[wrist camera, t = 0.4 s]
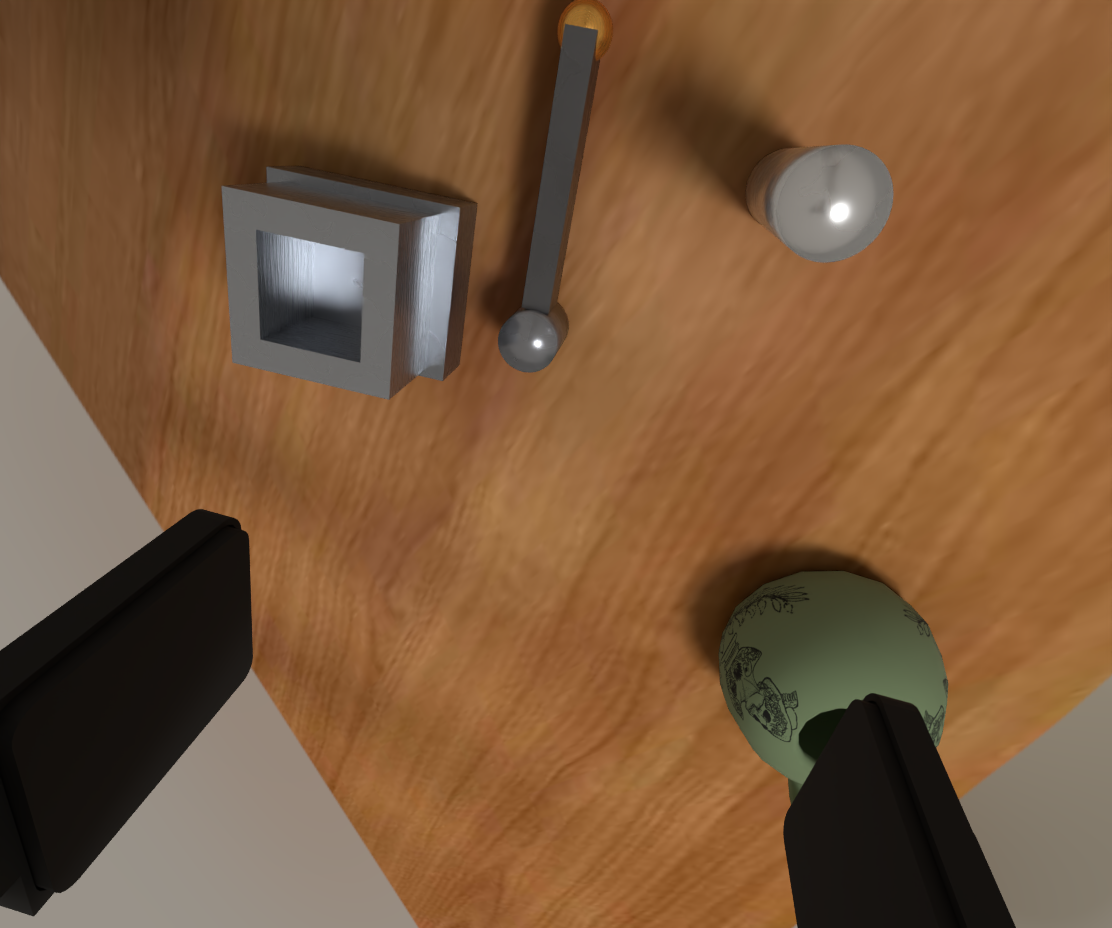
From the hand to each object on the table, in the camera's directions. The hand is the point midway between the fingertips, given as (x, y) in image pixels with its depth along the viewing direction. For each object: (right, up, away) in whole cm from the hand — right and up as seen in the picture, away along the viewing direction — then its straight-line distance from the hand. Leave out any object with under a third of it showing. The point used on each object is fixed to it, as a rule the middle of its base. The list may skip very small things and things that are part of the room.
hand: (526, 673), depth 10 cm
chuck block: (-9, +14, +26) cm, 31 cm away
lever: (+1, +17, +23) cm, 28 cm away
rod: (+12, +16, +21) cm, 29 cm away
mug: (+18, -10, +33) cm, 38 cm away
